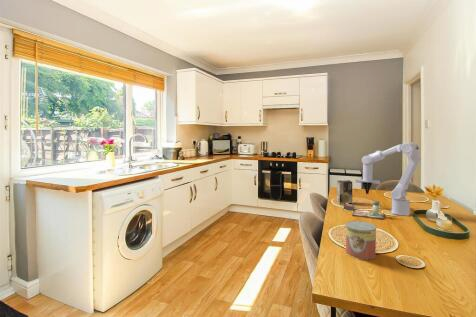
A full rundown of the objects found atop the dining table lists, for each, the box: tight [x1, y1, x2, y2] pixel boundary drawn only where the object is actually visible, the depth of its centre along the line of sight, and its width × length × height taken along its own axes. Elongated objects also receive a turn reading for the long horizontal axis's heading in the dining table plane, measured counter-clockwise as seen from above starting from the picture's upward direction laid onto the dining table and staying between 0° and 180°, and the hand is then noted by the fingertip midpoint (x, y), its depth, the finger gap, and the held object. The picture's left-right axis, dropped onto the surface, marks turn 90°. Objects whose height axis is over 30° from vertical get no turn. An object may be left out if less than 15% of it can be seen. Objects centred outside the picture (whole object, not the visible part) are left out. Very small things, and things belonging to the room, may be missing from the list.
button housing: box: [343, 204, 355, 211], centre depth 174 cm, size 6×6×2 cm
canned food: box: [345, 220, 377, 261], centre depth 109 cm, size 11×11×12 cm
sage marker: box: [372, 200, 380, 215], centre depth 157 cm, size 3×3×8 cm
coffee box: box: [336, 179, 353, 204], centre depth 189 cm, size 9×6×16 cm
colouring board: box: [352, 209, 385, 221], centre depth 160 cm, size 16×12×1 cm
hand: (367, 193), depth 176 cm, fingers closed
